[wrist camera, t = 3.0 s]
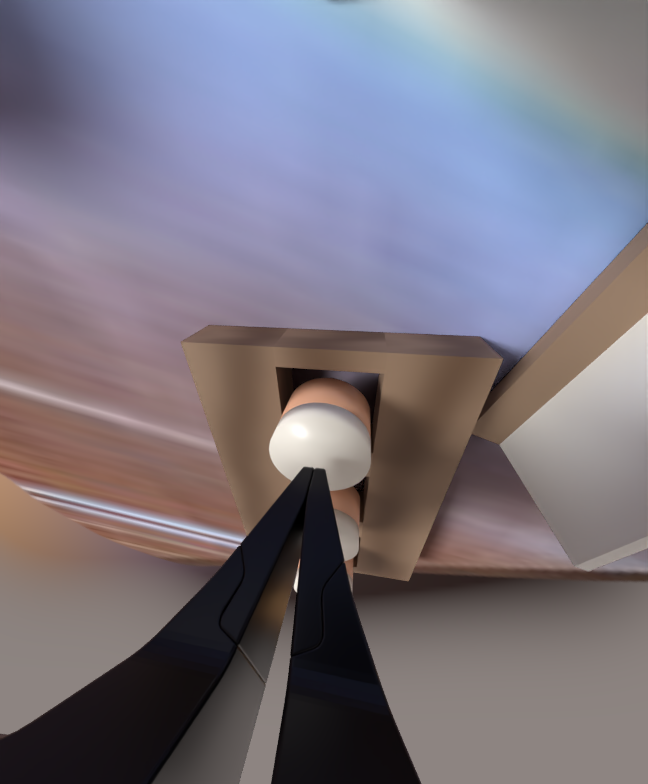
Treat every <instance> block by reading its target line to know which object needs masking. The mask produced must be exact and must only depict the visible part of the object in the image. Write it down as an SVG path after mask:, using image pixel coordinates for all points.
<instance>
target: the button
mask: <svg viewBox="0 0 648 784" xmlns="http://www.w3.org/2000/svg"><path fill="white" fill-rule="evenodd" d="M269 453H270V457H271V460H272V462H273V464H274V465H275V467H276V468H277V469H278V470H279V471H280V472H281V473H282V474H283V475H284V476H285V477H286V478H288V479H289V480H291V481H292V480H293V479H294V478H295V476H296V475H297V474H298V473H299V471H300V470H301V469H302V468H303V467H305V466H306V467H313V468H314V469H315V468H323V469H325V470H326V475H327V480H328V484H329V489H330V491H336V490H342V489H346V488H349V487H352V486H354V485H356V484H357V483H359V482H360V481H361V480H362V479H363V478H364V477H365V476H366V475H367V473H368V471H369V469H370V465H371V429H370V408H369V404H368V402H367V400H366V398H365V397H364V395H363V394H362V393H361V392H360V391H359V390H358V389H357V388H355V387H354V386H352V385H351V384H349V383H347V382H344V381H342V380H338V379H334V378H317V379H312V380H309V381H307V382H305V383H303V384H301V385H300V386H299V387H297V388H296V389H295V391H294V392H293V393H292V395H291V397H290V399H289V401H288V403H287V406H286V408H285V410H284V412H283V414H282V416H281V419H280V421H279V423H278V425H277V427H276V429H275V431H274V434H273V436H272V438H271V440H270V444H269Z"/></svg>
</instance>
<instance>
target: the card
mask: <svg viewBox="0 0 648 784" xmlns="http://www.w3.org/2000/svg"><path fill="white" fill-rule="evenodd" d="M472 434H473V435H476V436H478V437H481V438H483V439H486V440H488V441H491V442H494V443H496V444H499V445H500V447H501V448H502V450H503V452H504V453H505V455H506V456H507V458H508V460H509V461H510V463H511V464H512V466H513V468H514V469H515V471H516V473H517V474H518V476H519V477H520V479H521V481H522V482H523V484H524V486H525V487H526V489H527V490H528V492H529V494H530V495H531V497H532V499H533V500H534V502H535V503H536V505H537V507H538V508H539V510H540V512H541V513H542V515H543V516H544V518H545V520H546V521H547V523H548V525H549V526H550V528H551V529H552V531H553V533H554V534H555V536H556V538H557V539H558V541H559V542H560V544H561V546H562V547H563V549H564V551H565V552H566V554H567V555H568V557H569V559H570V560H571V562H572V564H573V565H574V566H575V567H577V568H580V569H583V570H586V571H591V570H593V569H596V568H599V567H601V566H604V565H606V564H609V563H611V562H614V561H617V560H619V559H622V558H624V557H627V556H630V555H632V554H635V553H637V552H640V551H642V550H645V549H648V223H647V224H646V225H645V226H644V227H643V229H642V230H641V231H640V232H639V233H638V234H637V235H636V236H635V237H634V238H633V239H632V240H631V241H630V243H629V244H628V245H627V246H626V247H625V248H624V249H623V250H622V251H621V252H620V253H619V254H618V255H617V257H616V258H615V259H614V260H613V261H612V262H611V263H610V264H609V265H608V266H607V267H606V268H605V269H604V271H603V272H602V273H601V274H600V275H599V276H598V277H597V278H596V279H595V280H594V281H593V282H592V283H591V285H590V286H589V287H588V288H587V289H586V290H585V291H584V292H583V293H582V294H581V295H580V296H579V298H578V299H577V300H576V301H575V302H574V303H573V304H572V305H571V306H570V307H569V308H568V309H567V310H566V312H565V313H564V314H563V315H562V316H561V317H560V318H559V319H558V320H557V321H556V322H555V323H554V324H553V326H552V327H551V328H550V329H549V330H548V331H547V332H546V333H545V334H544V335H543V336H542V337H541V338H540V340H539V341H538V342H537V343H536V344H535V345H534V346H533V347H532V348H531V349H530V350H529V351H528V352H527V354H526V355H525V356H524V357H523V358H522V359H521V360H520V361H519V362H518V363H517V364H516V365H515V367H514V368H513V369H512V370H511V371H510V372H509V373H508V374H507V375H506V376H505V377H504V378H503V379H502V381H501V382H500V383H499V384H498V385H497V386H496V387H495V388H494V389H493V390H492V391H491V392H490V393H489V395H488V396H487V399H486V401H485V403H484V406H483V408H482V410H481V413H480V415H479V417H478V420H477V422H476V424H475V427H474V429H473V431H472Z"/></svg>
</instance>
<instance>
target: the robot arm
mask: <svg viewBox="0 0 648 784" xmlns="http://www.w3.org/2000/svg"><path fill="white" fill-rule="evenodd" d="M299 560H300V565H299V575H298V585H297V595H296V605H295V615H294V625H293V635H292V644H291V658H290V665H289V673H288V681H287V689H286V696H285V703H284V709H283V715H282V721H281V727H280V733H279V740H278V745H277V751H276V757H275V763H274V770H273V775H272V782H271V784H421V782H420V779H419V777H418V775H417V772H416V770H415V767H414V765H413V763H412V761H411V758H410V756H409V753H408V751H407V749H406V746H405V744H404V742H403V739H402V737H401V735H400V732H399V730H398V727H397V725H396V723H395V720H394V718H393V715H392V713H391V710H390V708H389V705H388V702H387V699H386V697H385V694H384V691H383V688H382V685H381V682H380V679H379V676H378V673H377V671H376V667H375V665H374V661H373V658H372V655H371V652H370V649H369V646H368V643H367V640H366V637H365V634H364V631H363V628H362V625H361V621H360V618H359V615H358V612H357V608H356V605H355V602H354V598H353V595H352V591H351V586H350V582H349V578H348V574H347V569H346V564H345V563H344V562H345V560H344V555H343V550H342V546H341V541H340V536H339V532H338V527H337V522H336V517H335V513H334V508H333V503H332V498H331V494H330V489H329V484H328V480H327V475H326V470H325V469H323V468H315V469H314V468H313V467H306V466H305V467H303V468H302V469H301V470H300V471H299V473H298V474H297V475H296V476H295V478H294V479H293V480H292V481H291V482H290V484H289V485H288V486H287V487H286V489H285V490H284V491H283V492H282V494H281V495H280V496H279V497H278V498H277V500H276V501H275V502H274V503H273V505H272V506H271V507H270V508H269V510H268V511H267V512H266V513H265V514H264V516H263V517H262V518H261V519H260V521H259V522H258V523H257V524H256V526H255V527H254V528H253V529H252V530H251V532H250V533H249V534H248V535H247V537H246V538H245V539H244V540H243V542H242V543H241V546H238V547H237V549H236V550H235V551H234V552H233V554H232V555H231V556H230V557H229V558H228V560H227V561H226V562H225V563H224V564H223V566H222V567H221V568H220V569H219V570H218V571H217V572H216V574H215V575H214V576H213V577H212V578H211V579H210V580H209V581H208V582H207V583H206V584H205V585H204V586H203V587H202V588H201V590H200V591H199V592H198V593H197V594H196V595H195V596H194V597H193V598H192V599H191V600H190V601H189V602H188V603H187V604H186V605H185V606H184V607H183V608H182V609H181V610H180V611H179V612H178V613H177V614H176V615H175V616H174V617H173V618H172V619H171V620H170V621H169V622H168V623H167V624H166V625H165V627H163V628H162V629H161V630H160V631H159V632H158V633H157V635H155V636H154V637H153V638H152V639H151V640H150V641H149V642H148V643H147V644H145V645H144V646H143V647H142V648H141V649H140V650H138V651H137V652H136V653H134V654H133V655H131V656H130V657H129V658H127V659H126V660H124V661H123V662H121V663H120V664H118V665H117V666H115V667H114V668H112V669H111V670H109V671H108V672H106V673H105V674H103V675H102V676H100V677H99V678H97V679H96V680H94V681H93V682H91V683H90V684H88V685H87V686H85V687H84V688H82V689H81V690H79V691H78V692H76V693H75V694H73V695H72V696H70V697H69V698H67V699H66V700H64V701H63V702H61V703H59V704H58V705H57V706H55V707H54V708H52V709H50V710H49V711H48V712H46V713H45V714H43V715H41V716H40V717H38V718H37V719H36V720H34V721H32V722H31V723H29V724H27V725H26V726H24V727H22V728H21V729H20V730H18V731H16V732H14V733H11V734H9V735H6V734H0V784H239V782H240V778H241V774H242V771H243V767H244V763H245V759H246V756H247V752H248V749H249V745H250V741H251V738H252V734H253V730H254V726H255V723H256V719H257V715H258V711H259V708H260V704H261V700H262V697H263V693H264V690H265V683H266V682H267V678H268V675H269V671H270V667H271V664H272V660H273V656H274V653H275V648H276V645H277V641H278V637H279V634H280V630H281V626H282V623H283V619H284V616H285V612H286V608H287V604H288V601H289V597H290V594H291V590H292V586H293V582H294V579H295V575H296V571H297V568H298V564H299Z"/></svg>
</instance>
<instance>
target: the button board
mask: <svg viewBox="0 0 648 784" xmlns="http://www.w3.org/2000/svg"><path fill="white" fill-rule="evenodd" d="M181 345H182V348H183V351H184V354H185V356H186V359H187V362H188V365H189V368H190V371H191V374H192V377H193V380H194V383H195V386H196V389H197V392H198V394H199V397H200V400H201V403H202V406H203V409H204V412H205V415H206V418H207V421H208V424H209V427H210V430H211V432H212V435H213V438H214V441H215V444H216V447H217V450H218V453H219V456H220V459H221V462H222V465H223V467H224V470H225V473H226V476H227V479H228V482H229V485H230V488H231V491H232V494H233V497H234V500H235V503H236V505H237V508H238V511H239V514H240V517H241V520H242V523H243V526H244V529H245V532H246V535H248V534H249V533H250V532H251V530H252V529H253V528H254V527H255V526H256V524H257V523H258V522H259V521H260V519H261V518H262V517H263V516H264V514H265V513H266V512H267V511H268V510H269V508H270V507H271V506H272V505H273V503H274V502H275V501H276V500H277V498H278V497H279V496H280V495H281V494H282V492H283V491H284V490H285V489H286V487H287V486H288V485H289V484H290V482H291V480H289V479H288V478H286V477H285V476H284V475H283V474H282V473H281V472H280V471H279V470H278V469H277V468H276V467H275V465H274V464H273V462H272V460H271V457H270V453H269V444H270V440H271V438H272V436H273V434H274V431H275V429H276V427H277V425H278V423H279V421H280V419H281V416H282V414H283V412H284V410H285V408H286V406H287V403H288V401H289V399H290V397H291V395H292V393H293V392H294V390H293V379H292V368H301V369H317V370H333V371H349V372H365V373H379V377H378V385H377V393H376V400H375V408H374V416H373V424H370V429H371V465H370V469H369V471H368V473H367V475H366V478H365V485H364V492H361V491H357V492H358V493H359V496H360V519H359V551H358V553H357V555H356V556H355V557H354V559H353V572H356V573H362V574H369V575H375V576H381V577H386V578H393V579H399V580H405V581H409V579H410V577H411V574H412V572H413V570H414V567H415V565H416V563H417V560H418V558H419V556H420V553H421V551H422V549H423V546H424V544H425V542H426V539H427V537H428V535H429V532H430V530H431V528H432V525H433V523H434V520H435V518H436V516H437V513H438V511H439V509H440V506H441V504H442V502H443V499H444V497H445V495H446V492H447V490H448V488H449V485H450V483H451V481H452V478H453V476H454V474H455V471H456V469H457V467H458V464H459V462H460V460H461V457H462V455H463V453H464V450H465V448H466V446H467V443H468V441H469V438H470V436H471V434H472V431H473V429H474V427H475V424H476V422H477V420H478V417H479V415H480V413H481V410H482V408H483V406H484V403H485V401H486V399H487V396H488V394H489V392H490V389H491V387H492V385H493V382H494V380H495V378H496V375H497V373H498V371H499V368H500V366H501V364H502V361H503V358H502V357H501V356H500V355H499V354H498V353H497V352H496V351H495V350H494V349H492V348H491V347H490V346H489V345H488V344H487V343H486V342H485V341H484V340H483V339H482V338H481V337H478V336H454V335H431V334H407V333H383V332H360V331H336V330H312V329H289V328H265V327H241V326H218V325H208V326H207V327H205V328H203V329H202V330H200V331H198V332H197V333H195V334H193V335H191V336H190V337H188V338H186V339H185V340H183V341H181Z"/></svg>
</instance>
